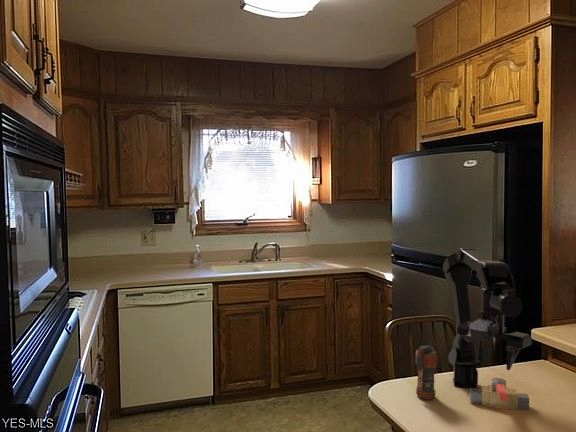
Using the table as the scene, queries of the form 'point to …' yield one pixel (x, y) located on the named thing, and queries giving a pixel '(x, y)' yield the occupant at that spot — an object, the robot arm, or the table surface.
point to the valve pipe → (491, 398)
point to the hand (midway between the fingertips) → (491, 365)
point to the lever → (500, 388)
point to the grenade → (426, 372)
